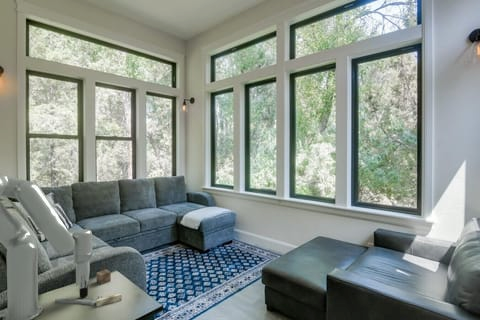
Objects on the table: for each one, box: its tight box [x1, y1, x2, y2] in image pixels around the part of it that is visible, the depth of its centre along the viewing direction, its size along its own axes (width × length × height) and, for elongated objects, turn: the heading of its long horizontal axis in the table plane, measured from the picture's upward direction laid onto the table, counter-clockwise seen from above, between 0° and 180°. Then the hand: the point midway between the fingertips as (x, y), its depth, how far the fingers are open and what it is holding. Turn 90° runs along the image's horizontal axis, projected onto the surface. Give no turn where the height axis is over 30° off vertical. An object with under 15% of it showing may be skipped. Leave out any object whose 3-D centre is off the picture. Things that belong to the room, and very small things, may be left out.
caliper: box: [55, 296, 103, 307], centre depth 114 cm, size 20×1×6 cm
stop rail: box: [96, 292, 123, 307], centre depth 115 cm, size 10×2×2 cm, turn 121°
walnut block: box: [95, 269, 112, 286], centre depth 134 cm, size 5×5×5 cm
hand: (83, 295), depth 119 cm, fingers closed
